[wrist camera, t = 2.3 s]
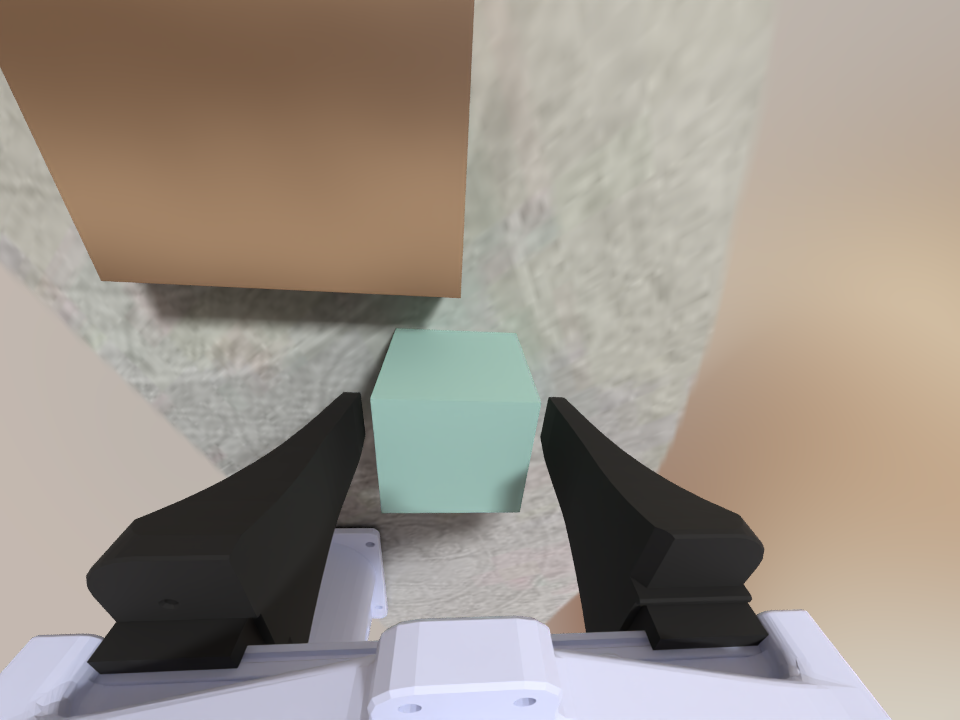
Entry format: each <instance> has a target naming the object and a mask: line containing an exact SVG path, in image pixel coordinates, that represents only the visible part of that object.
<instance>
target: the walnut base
mask: <svg viewBox="0 0 960 720" xmlns="http://www.w3.org/2000/svg"><path fill="white" fill-rule="evenodd" d="M473 18H474V0H0V67H1V69H2V72H3V74H4V76H5V78H6V80H7V82H8V84H9V86H10V89H11V91H12V93H13V95H14V97H15V99H16V101H17V103H18V105H19V108H20V110H21V112H22V114H23V116H24V118H25V120H26V122H27V124H28V127H29V129H30V131H31V133H32V135H33V137H34V139H35V141H36V144H37V146H38V148H39V150H40V152H41V154H42V156H43V158H44V160H45V163H46V165H47V167H48V169H49V171H50V173H51V175H52V177H53V179H54V182H55V184H56V186H57V188H58V190H59V192H60V194H61V196H62V199H63V201H64V203H65V205H66V207H67V209H68V211H69V213H70V215H71V218H72V220H73V222H74V224H75V226H76V228H77V230H78V232H79V235H80V237H81V239H82V241H83V243H84V245H85V247H86V249H87V251H88V254H89V256H90V258H91V260H92V262H93V264H94V266H95V268H96V270H97V273H98V275H99V277H100V279H101V281H114V282H135V283H156V284H177V285H198V286H219V287H240V288H261V289H282V290H303V291H323V292H344V293H365V294H386V295H407V296H428V297H449V298H461V277H462V256H463V234H464V212H465V191H466V169H467V148H468V126H469V104H470V83H471V61H472V39H473Z"/></svg>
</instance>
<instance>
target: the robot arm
mask: <svg viewBox="0 0 960 720" xmlns="http://www.w3.org/2000/svg"><path fill="white" fill-rule="evenodd" d="M364 439H365V427H364V419H363V411H362V402H361V394H360V393H353V392H343V393H342V394H341V395H340V396H339V397H338V398H336V399H335V400H334V401H333V402H332V403H331V404H330V405H329V406H328V407H326V408H325V409H324V410H323V411H322V412H321V413H320V414H319V415H317V416H316V417H315V418H314V419H313V420H312V421H310V422H309V423H308V424H307V425H306V426H305V427H303V428H302V429H301V430H300V431H298V432H297V433H296V434H294V435H293V436H292V437H291V438H289V439H288V440H287V441H285V442H284V443H283V444H281V445H280V446H278V447H277V448H276V449H274V450H273V451H271V452H270V453H268V454H267V455H265V456H264V457H262V458H261V459H259V460H257V461H256V462H254V463H252V464H251V465H249V466H247V467H245V468H244V469H242V470H240V471H238V472H237V473H235V474H233V475H231V476H230V477H228V478H226V479H224V480H222V481H220V482H219V483H217V484H215V485H213V486H211V487H209V488H207V489H205V490H202V491H200V492H198V493H196V494H194V495H192V496H190V497H188V498H185V499H183V500H181V501H179V502H176V503H174V504H172V505H169V506H167V507H165V508H162V509H160V510H157V511H155V512H152V513H150V514H148V515H145V516H143V517H140V518H138V519H135V520H134V521H133V522H132V523H131V524H130V526H128V528H127V529H126V530H125V531H124V532H123V533H122V534H121V535H120V536H119V538H118V539H117V540H116V541H115V542H114V543H113V544H112V545H111V546H110V548H109V549H108V550H107V551H106V552H105V553H104V555H102V556H101V558H100V559H99V560H98V561H97V562H96V563H95V564H94V565H93V567H92V568H91V569H90V570H89V572H88V574H87V575H86V579H87V587H88V589H89V591H90V592H91V593H92V595H93V597H94V598H95V599H96V600H97V601H98V602H99V603H100V604H101V605H102V607H103V608H104V609H105V610H106V611H107V612H108V613H109V614H110V615H111V616H112V618H113V619H114V620H115V621H116V623H115V625H114V626H113V627H112V629H111V630H110V631H109V633H108V634H107V635H106V637H105V638H103V637H101V636H98V635H94V634H59V635H38V636H36V637H33V638H31V640H30V641H29V642H28V643H27V644H26V645H25V646H24V647H23V649H22V650H21V651H20V652H19V653H18V654H17V655H16V657H14V659H13V660H12V661H11V662H10V663H9V664H8V665H7V666H6V668H5V669H4V670H3V671H2V672H1V673H0V720H891V718H890V717H889V716H888V714H887V713H886V712H885V710H884V709H883V708H882V707H881V706H880V704H879V703H878V702H877V700H876V699H875V698H874V696H873V695H872V694H871V693H870V691H869V690H868V689H867V688H866V686H865V685H864V684H863V682H862V681H861V680H860V679H859V677H858V676H857V675H856V673H855V672H854V671H853V670H852V668H851V667H850V666H849V665H848V663H847V662H846V661H845V659H844V658H843V657H842V656H841V654H840V653H839V652H838V650H837V649H836V648H835V647H834V645H833V644H832V643H831V642H830V640H829V639H828V638H827V637H826V635H825V634H824V633H823V631H822V630H821V629H820V627H819V626H818V625H817V624H816V623H815V621H814V620H813V618H812V617H811V616H810V615H809V613H808V612H807V611H805V610H802V609H800V610H771V611H764V612H761V613H759V614H757V615H756V614H755V613H754V611H753V610H752V609H751V607H750V606H749V604H748V602H750V601H751V600H752V597H751V595H750V593H749V592H748V590H747V589H746V587H745V586H744V583H745V581H746V580H747V579H748V578H749V577H750V576H751V574H752V573H753V572H754V571H755V569H756V568H757V567H758V566H759V564H760V562H761V561H762V559H763V554H764V547H763V544H762V543H761V541H760V540H759V539H758V537H757V536H756V535H755V534H754V532H753V531H752V530H751V529H750V528H749V526H748V525H747V524H746V522H745V521H744V520H743V519H742V518H741V516H739V515H738V514H736V513H734V512H732V511H729V510H727V509H725V508H722V507H720V506H718V505H716V504H713V503H711V502H709V501H707V500H704V499H703V498H700V497H698V496H696V495H695V494H693V493H691V492H689V491H687V490H685V489H683V488H681V487H679V486H677V485H676V484H674V483H672V482H670V481H668V480H667V479H665V478H663V477H662V476H660V475H659V474H657V473H655V472H654V471H652V470H650V469H649V468H647V467H646V466H644V465H643V464H641V463H640V462H638V461H637V460H636V459H634V458H633V457H631V456H630V455H628V454H627V453H626V452H624V451H623V450H622V449H620V448H619V447H618V446H617V445H616V444H614V443H613V442H612V441H611V440H609V439H608V438H607V437H606V436H605V435H604V434H602V433H601V432H600V431H599V430H598V429H597V428H596V427H595V426H593V425H592V424H591V423H590V422H589V421H588V420H587V419H586V418H585V417H584V416H583V415H582V414H581V413H580V412H579V411H578V410H577V409H576V408H575V407H574V406H572V405H571V404H570V403H569V402H568V401H567V400H566V399H565V398H562V397H549V398H548V403H547V408H546V413H545V417H544V422H543V427H542V432H541V443H542V449H543V454H544V459H545V462H546V465H547V469H548V472H549V475H550V478H551V481H552V484H553V487H554V490H555V493H556V496H557V499H558V501H559V504H560V507H561V510H562V514H563V517H564V521H565V525H566V529H567V533H568V538H569V542H570V547H571V552H572V557H573V561H574V566H575V571H576V576H577V582H578V587H579V593H580V598H581V603H582V609H583V616H584V622H585V629H586V633H567V634H550V630H549V627H548V626H546V625H545V624H544V623H542V622H540V621H538V620H536V619H535V618H532V617H523V616H488V617H458V618H427V619H416V620H410V621H403V622H399V623H398V624H396V625H394V626H392V627H390V628H388V629H387V630H385V631H384V632H383V633H382V634H381V637H380V639H379V641H368V637H369V632H370V626H371V621H372V618H384V617H385V616H387V612H388V605H387V596H386V587H385V578H384V569H383V560H382V551H381V542H380V534H379V531H377V530H376V529H374V528H335V526H336V523H337V520H338V517H339V513H340V511H341V508H342V505H343V503H344V500H345V497H346V495H347V492H348V489H349V487H350V484H351V481H352V479H353V476H354V473H355V471H356V468H357V465H358V462H359V460H360V456H361V452H362V448H363V443H364Z"/></svg>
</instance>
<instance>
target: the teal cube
mask: <svg viewBox="0 0 960 720" xmlns="http://www.w3.org/2000/svg"><path fill="white" fill-rule="evenodd" d="M370 401H371V411H372V421H373V431H374V441H375V451H376V462H377V472H378V482H379V492H380V502H381V512H382V513H492V512H520V508H521V503H522V498H523V493H524V488H525V482H526V477H527V472H528V467H529V462H530V457H531V452H532V447H533V442H534V437H535V432H536V427H537V422H538V417H539V412H540V406H541V401H540V398H539V395H538V393H537V390H536V387H535V384H534V381H533V379H532V376H531V373H530V370H529V368H528V365H527V362H526V359H525V357H524V354H523V351H522V348H521V346H520V343H519V340H518V337H517V335H516V333H495V332H470V331H446V330H421V329H397V328H396V330H395V333H394V335H393V338H392V341H391V344H390V346H389V349H388V352H387V354H386V357H385V360H384V363H383V365H382V368H381V371H380V374H379V376H378V379H377V382H376V385H375V387H374V390H373V393H372V395H371V398H370Z"/></svg>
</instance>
